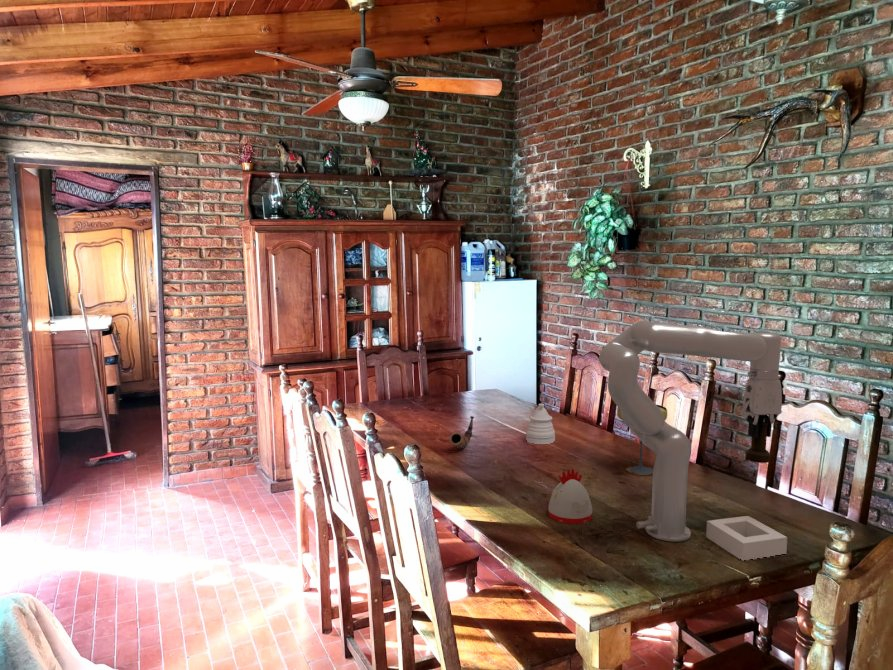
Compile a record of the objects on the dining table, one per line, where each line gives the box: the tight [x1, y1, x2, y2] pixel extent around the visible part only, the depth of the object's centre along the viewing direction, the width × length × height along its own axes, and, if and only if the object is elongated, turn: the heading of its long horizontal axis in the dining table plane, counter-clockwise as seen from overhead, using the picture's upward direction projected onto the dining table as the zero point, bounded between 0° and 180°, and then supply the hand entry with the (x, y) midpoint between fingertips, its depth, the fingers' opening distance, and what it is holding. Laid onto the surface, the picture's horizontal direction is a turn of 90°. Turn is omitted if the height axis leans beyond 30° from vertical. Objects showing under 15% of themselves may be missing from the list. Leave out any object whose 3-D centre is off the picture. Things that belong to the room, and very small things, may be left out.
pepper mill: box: [745, 415, 771, 464], centre depth 182 cm, size 7×6×18 cm
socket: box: [705, 515, 788, 562], centre depth 174 cm, size 14×15×5 cm
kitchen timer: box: [547, 468, 593, 525], centre depth 196 cm, size 14×14×15 cm
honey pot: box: [525, 403, 556, 444], centre depth 276 cm, size 13×13×18 cm
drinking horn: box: [449, 415, 475, 450], centre depth 273 cm, size 5×29×10 cm, turn 163°
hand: (759, 435), depth 182 cm, fingers closed on pepper mill, 3 cm apart
